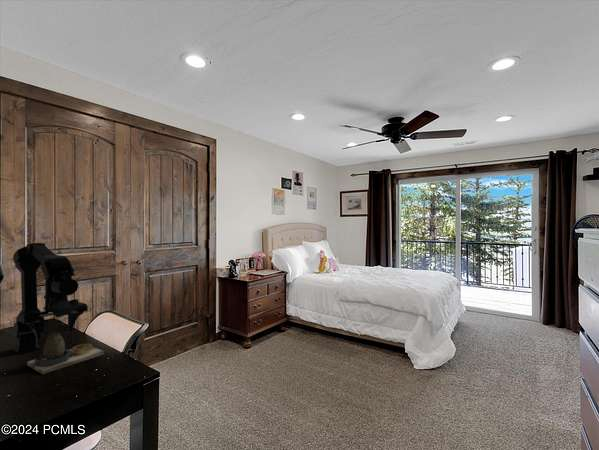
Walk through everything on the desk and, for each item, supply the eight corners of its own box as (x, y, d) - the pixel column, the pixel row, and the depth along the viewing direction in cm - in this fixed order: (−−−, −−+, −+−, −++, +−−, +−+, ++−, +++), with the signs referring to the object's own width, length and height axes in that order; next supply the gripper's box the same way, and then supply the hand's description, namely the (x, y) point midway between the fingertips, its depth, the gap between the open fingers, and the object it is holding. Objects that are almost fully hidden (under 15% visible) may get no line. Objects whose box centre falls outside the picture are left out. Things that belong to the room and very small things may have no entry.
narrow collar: (69, 354, 115) (69, 347, 115) (87, 348, 120) (87, 342, 120) (77, 357, 112) (77, 350, 112) (94, 352, 117) (95, 345, 117)
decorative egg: (42, 365, 104) (43, 336, 104) (44, 359, 109) (44, 331, 109) (64, 360, 107) (64, 332, 108) (64, 355, 112) (65, 328, 112)
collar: (31, 363, 106) (31, 356, 106) (63, 354, 115) (63, 347, 115) (42, 370, 101) (43, 363, 101) (75, 360, 110) (75, 353, 110)
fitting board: (27, 365, 107) (27, 361, 107) (87, 347, 123) (87, 344, 123) (42, 374, 100) (42, 370, 100) (103, 354, 116) (103, 351, 116)
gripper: (31, 300, 96) (30, 349, 96) (95, 290, 112) (94, 332, 112) (18, 296, 102) (17, 342, 102) (80, 287, 118) (80, 327, 118)
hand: (54, 336), depth 108 cm, fingers open, 9 cm apart
